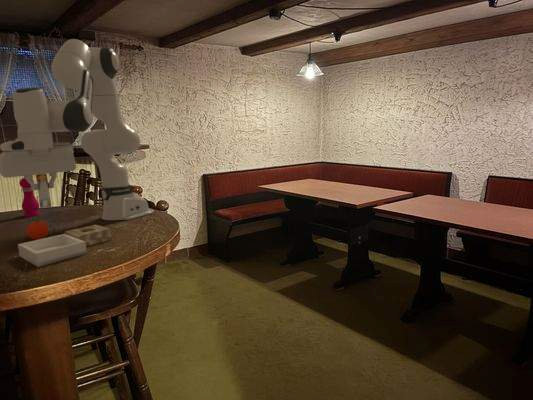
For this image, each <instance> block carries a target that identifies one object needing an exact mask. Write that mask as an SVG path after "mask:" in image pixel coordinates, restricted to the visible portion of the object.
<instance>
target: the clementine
mask: <svg viewBox="0 0 533 400" xmlns="http://www.w3.org/2000/svg"><path fill="white" fill-rule="evenodd" d="M49 232H50V228H49V226H48V224H47V223H46V222H45V221H42V220H33V221H30V222H28V223H27V224H26V233H27V236H28V237H30V239H32V240H33V241H35V240H39V239H44V238H47V236H48V235H49Z"/></svg>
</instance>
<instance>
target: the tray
mask: <svg viewBox="0 0 533 400" xmlns="http://www.w3.org/2000/svg"><path fill="white" fill-rule="evenodd" d="M17 248H18V254H19V257H20V258H22V259H24V260H25V261H27V262H29V263H31V264H32V265H34V266H35V267H38V268H39V267H40V268H41V267H42V266H47V265H50V264H53V263H58V262H61V261H64V260H68V259H69V260H70V259H73V258H77V257H80V256H84V255H87V254H88V252H87V251H88V250H87V246H86V244H85V241H82V240H80V239H77V238H74V237H71V236H69V235H66V234H65V233H62V234H59V235H53V236H49V237H45V238H43V239H39V240H31V241H28V242H22V243H17Z"/></svg>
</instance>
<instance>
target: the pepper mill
mask: <svg viewBox="0 0 533 400" xmlns="http://www.w3.org/2000/svg"><path fill="white" fill-rule="evenodd" d="M31 180H32V181H33V182H34V183H35V180H34V178H33V179H31ZM18 184H19V186H20V187H21V191H22V193H23V199H22V203H21V209H22V210H23V211H24V213H23V216H24V217H25V218H33V217H36V216H37V217H38V216H40V211H39V209H40V202H39V201H38V200H37V198H36V197H35V194H34V190H32V189H31V184H30V183H29V182H28V181H27V180H26V178H25V176H23V177H22V178H20V180H19V183H18Z"/></svg>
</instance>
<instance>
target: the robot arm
mask: <svg viewBox="0 0 533 400" xmlns="http://www.w3.org/2000/svg"><path fill="white" fill-rule="evenodd" d="M50 68H51V73H52V76H53V78H54V79H55V80H56V82H58V83H59V84H60V85H61V86H63V87H65V88H68V89H72V90H75V91H76V92H75V97H74V98H71V99H67V100H66V99H65V100H50V99H49V98H47V97H46V95H45V91H44V89H43V88H41V87H22V88H21V87H20V88H17V89H16V90H14V92H13V96H12V101H13V102H12V103H13V105H12V106H13V114H14V120H15V121H16V125H17V132H16V133H17V138H15V139H11V140H8V141H6V142H3V143H1V144H0V150H1V151H2V152H1V153H0V175H1V177H2V178H18V177H24V176H25V177H24V178H26V180H27V181H28V182H29V183H30V184H31V189H32V190H33V191H38V190H39V188H38V184H37V183H35V181H34V182H33V181H32V180H31V179H33V180H34V176H36V175H39V174H47V175H49V177H50V180H48V186H49V189H54V188H55V181H56V179H57V178H58V174H57V173H65V172H73V171H75V170H76V169H77V163H76V159H75V156H74V152H75V151H74V146H73V145H72V144H71V143H69V142H67V141H62V142H59V141H57V142H54V139H53V138H54V137H53V133H54V132H55V133H63V132H71V133H83V134H82V136H81V138H80V139H81V140H80V145H81V148H82V150H83V151H84V152H85V153H86V154H88V155H89V156H90V157H92V159H93V160H94V161H95V163H96V165H97V167H98V169H99V173H100V179H101V196H102V199H103V207H102V208H103V212H102V217H101V219H102V220H105V221H120V220H121V221H124V220H126V221H127V220H128V221H129V220H133V219H136V218H139V217H140V218H141V217H144V216H147V215H150V214H155V210H154V209H152V208H149V204H148V202H147V199H146V198H144V197H142V196H140V195H139V194H137V193H136V192H135V191H136V190H137V189H138V185H135V184H134V185H131V184H130V183H129V174H128V168H127V167H126V165H124V164H123V163H121V162H119V161H118V159H117V158H116V155H126V154H127V155H128V154H132V153H135V152H137V151H138V150H139V149H140V146H141V138H140V135H139V134H138V132H137V131H136V130H134V129H133V128H131V126H129V125H128V123H127V122H126V121H125V119H124V117H123V114H122V111H121V106H120V101H119V94H118V88H117V84H116V81H115V76H116V75H117V74H118V73H119V70H120V59H119V56H118V54H117V52H116V51H115V50H114V48H111V47H105V46H104V47H103V46H102V47H96V46H95V47H93V46H92V47H91V46H90V47H89V46H88V45H87V44H86V43H85V42H84V41H82V40H79V39H77V38H76V39H75V38H70V39H68V40H66V41H65V42H64V43H63V44H62V45H61V46H60V48H59V49H58V50H57V52H56V54H55V55H54V58H53V59H52V63H51V67H50ZM93 117H94V118H96V119H97V120H99V121H101V122H102V123H103V124H104V126H105V129H104V128H102V129H93V130H88V129H89V128H90V127H91V125H92V124H93ZM87 130H88V131H87Z"/></svg>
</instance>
